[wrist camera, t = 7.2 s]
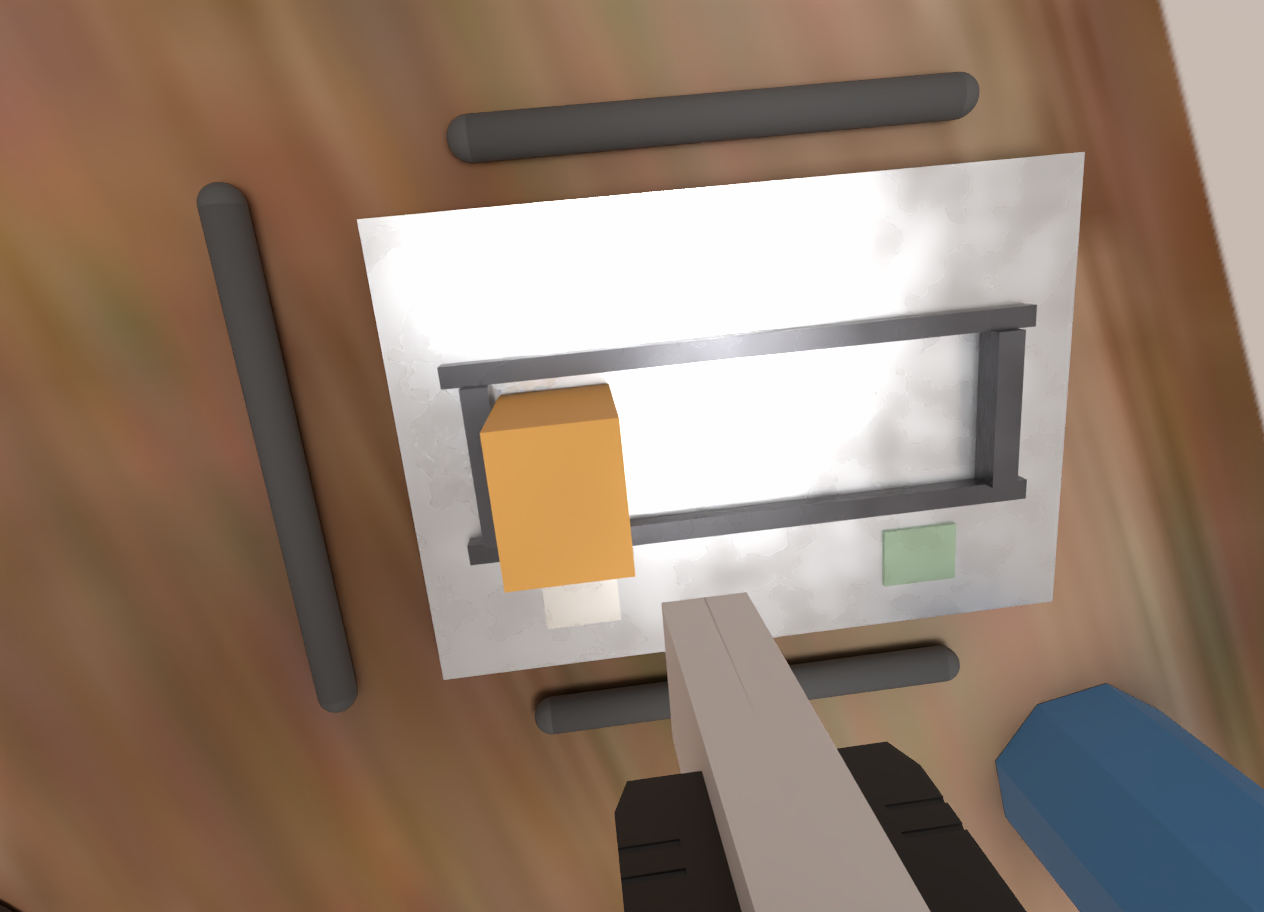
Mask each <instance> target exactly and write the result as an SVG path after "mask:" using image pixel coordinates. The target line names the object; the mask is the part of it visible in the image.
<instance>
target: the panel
mask: <svg viewBox="0 0 1264 912" xmlns="http://www.w3.org/2000/svg"><path fill="white" fill-rule="evenodd" d="M1084 156H1085V152H1078V153H1068V154H1057V155H1046V156H1035V157H1025V158H1014V159H1003V160H992V161H981V162H971V163H960V164H949V165H938V166H928V167H917V168H906V169H895V170H884V171H874V172H863V173H852V174H841V175H830V176H820V177H809V178H798V179H787V180H777V181H766V182H755V183H744V184H733V185H723V186H712V187H701V188H690V189H680V190H669V191H658V192H647V193H636V194H626V195H615V196H604V197H593V198H583V199H572V200H561V201H550V202H539V203H529V204H518V205H507V206H496V207H486V208H475V209H464V210H453V211H442V212H432V213H421V214H410V215H399V216H388V217H378V218H367V219H357V223H358V228H359V234H360V239H361V244H362V249H363V255H364V260H365V265H366V271H367V276H368V281H369V287H370V292H371V297H372V303H373V308H374V313H375V318H376V324H377V329H378V334H379V340H380V345H381V350H382V356H383V361H384V366H385V371H386V377H387V382H388V387H389V393H390V398H391V403H392V409H393V414H394V419H395V424H396V430H397V435H398V440H399V446H400V451H401V456H402V462H403V467H404V472H405V478H406V483H407V488H408V493H409V499H410V504H411V509H412V515H413V520H414V525H415V531H416V536H417V541H418V546H419V552H420V557H421V562H422V568H423V573H424V578H425V584H426V589H427V594H428V600H429V605H430V610H431V615H432V621H433V626H434V631H435V637H436V642H437V647H438V653H439V658H440V663H441V668H442V674H443V679H444V680H447V679H455V678H462V677H470V676H478V675H486V674H493V673H501V672H509V671H516V670H524V669H532V668H540V667H547V666H555V665H563V664H571V663H578V662H586V661H594V660H602V659H609V658H617V657H625V656H633V655H640V654H648V653H656V652H664V651H665V640H664V628H663V616H662V604H661V603H663V602H671V601H679V600H687V599H695V598H703V597H711V596H719V595H727V594H735V593H743V592H747V594H748V595H749V597H750V599H751V601H752V602H753V604H754V606H755V607H756V609H757V611H758V613H759V614H760V616H761V618H762V620H763V621H764V623H765V625H766V627H767V628H768V630H769V632H770V634H771V635H772V637H780V636H787V635H795V634H803V633H811V632H818V631H826V630H834V629H841V628H849V627H857V626H865V625H872V624H880V623H888V622H896V621H903V620H911V619H919V618H927V617H934V616H942V615H950V614H958V613H965V612H973V611H981V610H989V609H996V608H1004V607H1012V606H1019V605H1027V604H1035V603H1043V602H1050V601H1052V600H1053V586H1054V572H1055V558H1056V544H1057V530H1058V517H1059V503H1060V489H1061V475H1062V461H1063V447H1064V433H1065V420H1066V406H1067V392H1068V378H1069V364H1070V350H1071V336H1072V322H1073V309H1074V295H1075V281H1076V267H1077V253H1078V239H1079V225H1080V211H1081V198H1082V184H1083V170H1084ZM600 384H609V386H610V390H611V393H612V396H613V399H614V402H615V405H616V408H617V412H618V415H619V418H620V428H621V438H622V448H623V458H624V468H625V478H626V487H627V497H628V507H629V517H630V527H631V537H632V547H633V557H634V567H635V576H636V577H628V578H620V579H612V580H604V581H595V582H587V583H579V584H571V585H563V586H555V587H547V588H538V589H530V590H522V591H514V592H506V593H505V592H504V586H503V579H502V573H501V566H500V560H499V554H498V547H497V541H496V534H495V528H494V522H493V515H492V509H491V502H490V496H489V490H488V483H487V477H486V470H485V464H484V458H483V451H482V445H481V438H480V432H481V430H482V428H483V426H484V424H485V422H486V420H487V418H488V416H489V415H490V413H491V411H492V409H493V407H494V405H495V403H496V401H497V399H498V398H499V396H500V395H507V394H516V393H525V392H534V391H544V390H553V389H562V388H572V387H581V386H590V385H600Z"/></svg>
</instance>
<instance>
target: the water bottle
mask: <svg viewBox="0 0 1264 912" xmlns="http://www.w3.org/2000/svg"><path fill="white" fill-rule="evenodd" d="M996 767H997V772H998V778H999V784H1000V789H1001V795H1002V801H1003V806H1004V812H1005V817H1006V818H1007V819H1008V821H1009V822H1010V823H1011V825H1012V826H1013V827H1014V828H1015V830H1016V831H1017V832H1018V833H1019V835H1020V836H1021V837H1022V839H1023V840H1024V841H1025V842H1026V844H1027V845H1028V846H1029V848H1030V849H1031V850H1032V851H1033V853H1034V854H1035V855H1036V856H1037V858H1038V859H1039V860H1040V862H1041V863H1042V864H1043V865H1044V867H1045V868H1046V869H1047V870H1048V872H1049V873H1050V874H1051V876H1052V877H1053V878H1054V879H1055V881H1056V882H1057V883H1058V884H1059V886H1060V887H1061V888H1062V890H1063V891H1064V892H1065V893H1066V895H1067V896H1068V897H1069V898H1070V900H1071V901H1072V902H1073V904H1074V905H1075V906H1076V907H1077V909H1078V910H1079V911H1080V912H1264V789H1262V788H1261V787H1260V786H1258V785H1257V784H1256V783H1254V782H1253V781H1252V780H1251V779H1249V778H1248V777H1247V776H1245V775H1244V774H1243V773H1241V772H1240V771H1239V770H1237V769H1236V768H1235V767H1233V766H1232V765H1231V764H1229V763H1228V762H1227V761H1226V760H1224V759H1223V758H1222V757H1220V756H1219V755H1218V754H1216V753H1215V752H1214V751H1212V750H1211V749H1210V748H1208V747H1207V746H1206V745H1205V744H1203V743H1202V742H1201V741H1199V740H1198V739H1197V738H1195V737H1194V736H1193V735H1191V734H1190V733H1189V732H1187V731H1186V730H1185V729H1183V728H1182V727H1181V726H1180V725H1178V724H1177V723H1176V722H1174V721H1173V720H1172V719H1170V718H1169V717H1168V716H1166V715H1165V714H1164V713H1162V712H1161V711H1160V710H1158V709H1156V708H1154V707H1152V706H1150V705H1148V704H1146V703H1144V702H1142V701H1140V700H1138V699H1136V698H1134V697H1132V696H1130V695H1128V694H1126V693H1125V692H1123V691H1121V690H1119V689H1117V688H1115V687H1113V686H1111V685H1109V684H1107V683H1106V684H1103V685H1100V686H1096V687H1093V688H1090V689H1087V690H1083V691H1080V692H1077V693H1074V694H1071V695H1067V696H1064V697H1061V698H1058V699H1054V700H1051V701H1048V702H1045V703H1041V704H1038V705H1037V706H1036V707H1035V708H1034V710H1033V711H1032V713H1031V714H1030V715H1029V717H1028V718H1027V719H1026V721H1025V722H1024V723H1023V725H1022V726H1021V727H1020V729H1019V730H1018V731H1017V733H1016V734H1015V736H1014V737H1013V738H1012V740H1011V741H1010V742H1009V744H1008V745H1007V746H1006V748H1005V749H1004V750H1003V752H1002V753H1001V754H1000V756H999V757H998V758H997V760H996Z"/></svg>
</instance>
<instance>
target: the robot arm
mask: <svg viewBox="0 0 1264 912" xmlns="http://www.w3.org/2000/svg"><path fill="white" fill-rule="evenodd" d="M661 604H662V616H663V628H664V640H665V652H666V664H667V676H668V688H669V701H670V713H671V725H672V737H673V742H674V746H675V750H676V754H677V759H678V763H679V767H680V771H681V774H675V775H668V776H661V777H654V778H647V779H640V780H633V781H627V783H626V786H625V788H624V791H623V793H622V796H621V798H620V801H619V803H618V805H617V808H616V810H615V823H616V833H617V843H618V852H619V862H620V872H621V882H622V892H623V902H624V912H1026V910H1025V909H1024V908H1023V906H1022V905H1021V904H1020V902H1019V901H1018V899H1017V898H1016V897H1015V895H1014V894H1013V892H1012V891H1011V890H1010V888H1009V887H1008V886H1007V884H1006V883H1005V881H1004V880H1003V879H1002V877H1001V876H1000V875H999V873H998V872H997V870H996V869H995V868H994V866H993V865H992V863H991V862H990V861H989V859H988V858H987V857H986V855H985V854H984V852H983V851H982V850H981V848H980V847H979V845H978V844H977V843H976V841H975V840H974V839H973V837H972V836H971V834H970V833H969V832H968V830H964V828H963V826H962V822H961V821H960V819H959V818H958V816H957V815H956V814H955V812H954V811H953V810H952V808H951V807H950V805H949V804H948V803H945V802H944V800H943V796H942V794H941V793H940V792H939V790H938V789H937V787H936V786H935V785H934V783H933V782H932V781H931V779H930V778H929V776H928V775H927V774H926V772H925V771H924V770H923V768H922V767H921V765H919V764H918V763H916V762H915V761H914V760H912V759H911V758H909V757H908V756H906V755H905V754H904V753H902V752H901V751H899V750H898V749H897V748H895V747H894V746H892V745H891V744H890V743H888V742H881V743H874V744H867V745H860V746H853V747H846V748H839V749H837V748H836V747H835V745H834V743H833V741H832V740H831V738H830V736H829V734H828V733H827V731H826V729H825V727H824V726H823V724H822V722H821V720H820V719H819V717H818V715H817V714H816V712H815V710H814V708H813V707H812V705H811V703H810V701H809V700H808V698H807V696H806V694H805V693H804V691H803V689H802V687H801V686H800V684H799V682H798V680H797V679H796V677H795V675H794V674H793V672H792V670H791V668H790V667H789V665H788V663H787V661H786V660H785V658H784V656H783V654H782V653H781V651H780V649H779V647H778V646H777V644H776V642H775V641H774V639H773V637H772V635H771V634H770V632H769V630H768V628H767V627H766V625H765V623H764V621H763V620H762V618H761V616H760V614H759V613H758V611H757V609H756V607H755V606H754V604H753V602H752V601H751V599H750V597H749V595H748V594H747V592H743V593H735V594H727V595H719V596H711V597H703V598H695V599H687V600H679V601H671V602H663V603H661ZM0 912H12V911H11V910H9V909H7V908H5V907H4V906H2V905H0Z"/></svg>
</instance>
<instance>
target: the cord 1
mask: <svg viewBox="0 0 1264 912" xmlns="http://www.w3.org/2000/svg"><path fill="white" fill-rule="evenodd" d="M978 98H979V85H978V83H977V81H976V79H975V78H974V77H973V76H972V75H970V74H968V73H965V72H951V73H940V74H928V75H916V76H905V77H893V78H881V79H869V80H858V81H846V82H834V83H823V84H811V85H799V86H787V87H776V88H764V89H752V90H740V91H729V92H717V93H705V94H694V95H682V96H670V97H658V98H647V99H635V100H623V101H612V102H600V103H588V104H576V105H565V106H553V107H541V108H529V109H518V110H506V111H494V112H483V113H471V114H463V115H460V116H458V117H456V118H455V119H454V120H453V121H452V122H451V123H450V125H449V127H448V130H447V142H448V145H449V148H450V150H451V151H452V153H453V154H454V155H455V156H456V157H457V158H459V159H460V160H462V161H465V162H469V163H475V162H487V161H498V160H509V159H520V158H531V157H543V156H554V155H565V154H576V153H587V152H599V151H610V150H621V149H632V148H644V147H655V146H666V145H677V144H688V143H700V142H711V141H722V140H733V139H744V138H756V137H767V136H778V135H789V134H800V133H812V132H823V131H834V130H845V129H857V128H868V127H879V126H890V125H901V124H913V123H924V122H935V121H946V120H955V119H959V118H962V117H964V116H965V115H967V114H968V113H969V112H970V111H971V110H972V109H973V108H974V107H975V105H976V103H977V101H978Z"/></svg>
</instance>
